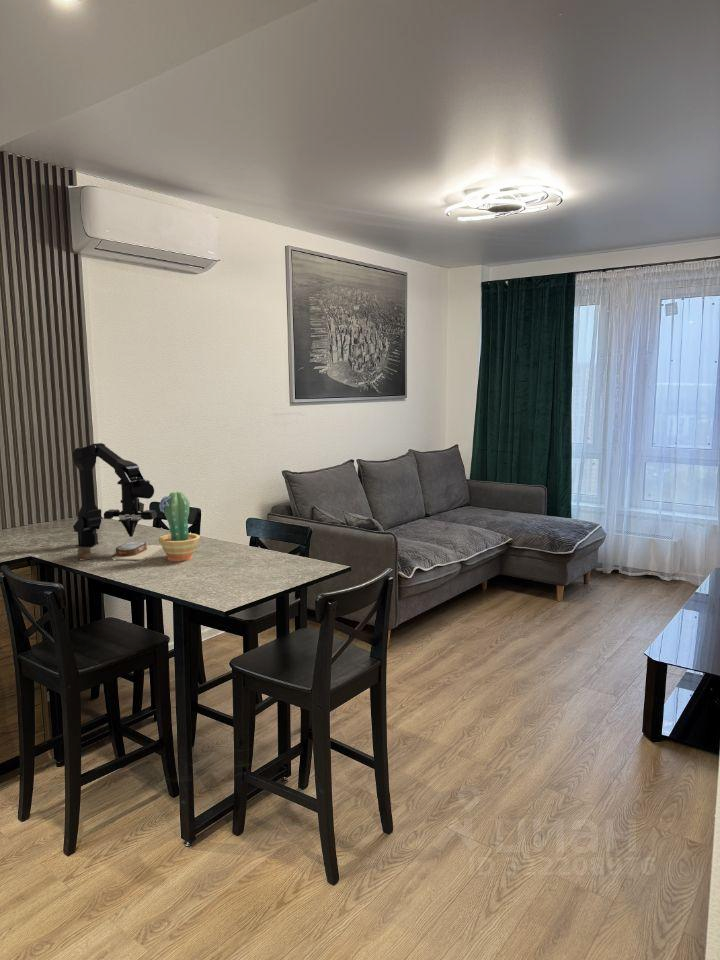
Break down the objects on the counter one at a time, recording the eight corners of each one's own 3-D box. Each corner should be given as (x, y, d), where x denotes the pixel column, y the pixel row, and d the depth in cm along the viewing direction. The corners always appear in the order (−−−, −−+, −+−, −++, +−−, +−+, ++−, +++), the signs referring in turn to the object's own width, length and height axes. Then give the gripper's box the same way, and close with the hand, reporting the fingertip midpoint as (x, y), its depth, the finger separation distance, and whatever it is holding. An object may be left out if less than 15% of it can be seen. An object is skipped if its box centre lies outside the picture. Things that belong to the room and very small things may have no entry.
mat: (111, 560, 244) (111, 558, 244) (135, 546, 266) (135, 545, 265) (143, 560, 243) (143, 559, 243) (165, 547, 265) (165, 545, 265)
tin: (111, 556, 247) (132, 558, 246) (111, 547, 247) (132, 550, 246) (130, 547, 262) (150, 549, 261) (130, 539, 261) (150, 541, 260)
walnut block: (77, 560, 243) (77, 550, 243) (79, 558, 247) (78, 547, 246) (89, 560, 244) (89, 549, 244) (90, 557, 248) (90, 547, 247)
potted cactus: (167, 552, 255) (164, 489, 252) (206, 553, 254) (204, 489, 251) (152, 563, 240) (149, 495, 237) (194, 563, 239) (192, 495, 236)
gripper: (161, 493, 259) (162, 532, 261) (115, 493, 260) (116, 531, 262) (150, 498, 248) (151, 538, 250) (102, 497, 249) (104, 537, 251)
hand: (131, 536), depth 254 cm, fingers closed
